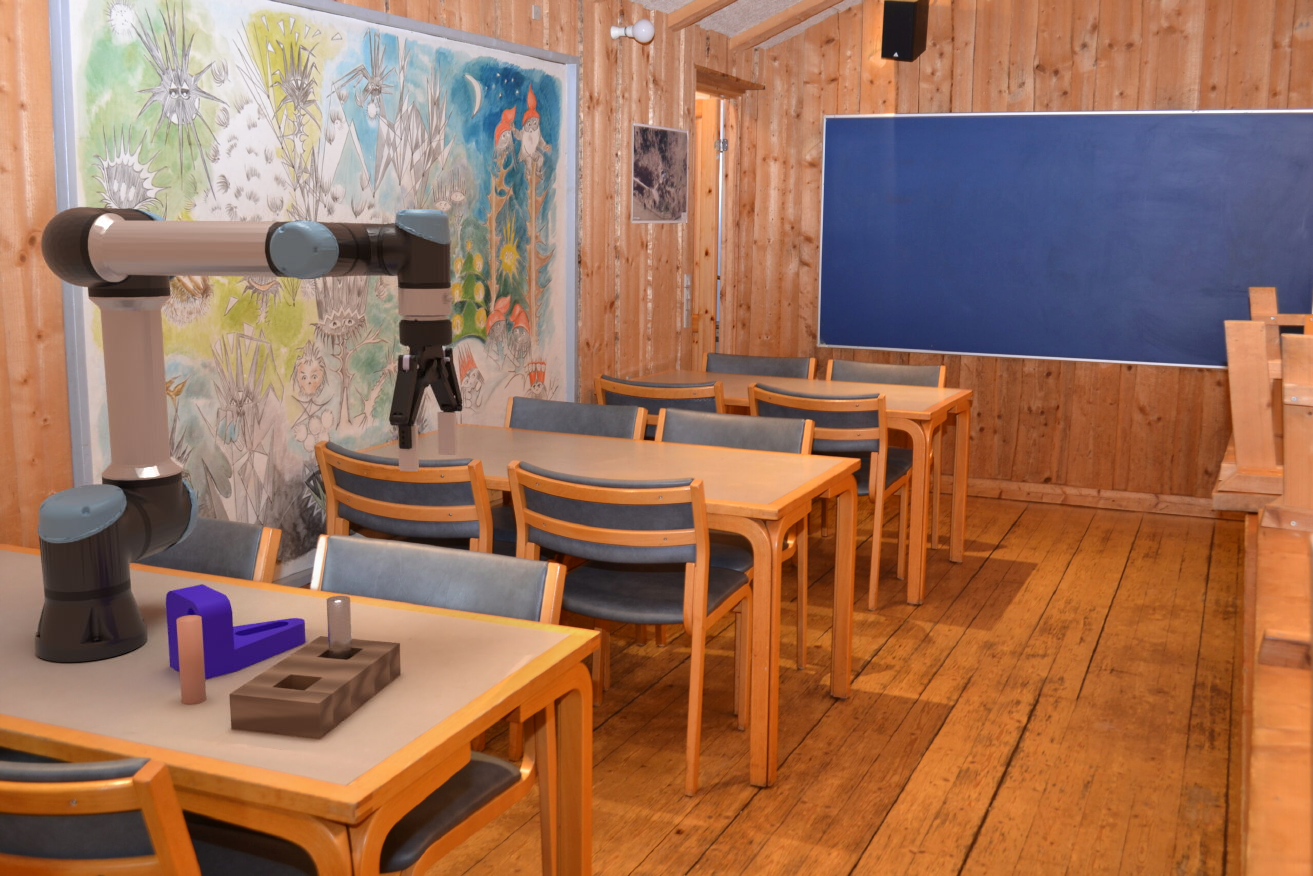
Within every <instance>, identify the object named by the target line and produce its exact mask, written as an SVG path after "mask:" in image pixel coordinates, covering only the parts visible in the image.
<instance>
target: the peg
mask: <svg viewBox="0 0 1313 876" xmlns="http://www.w3.org/2000/svg"><path fill="white" fill-rule="evenodd" d="M177 636H178V652H179V668H180V673H179V680H180V681H179V684H180V696H181V697H180V698H181V703H182V704H183V705H190V706H191V705H198V704H202V703H204V702H205V701H207V690H206V688H207V687H206V686H207V685H206V680H205V667H204V651H203V634H202V617H201V616H198V615H188V616H183V617H180V618H178V619H177Z"/></svg>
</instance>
